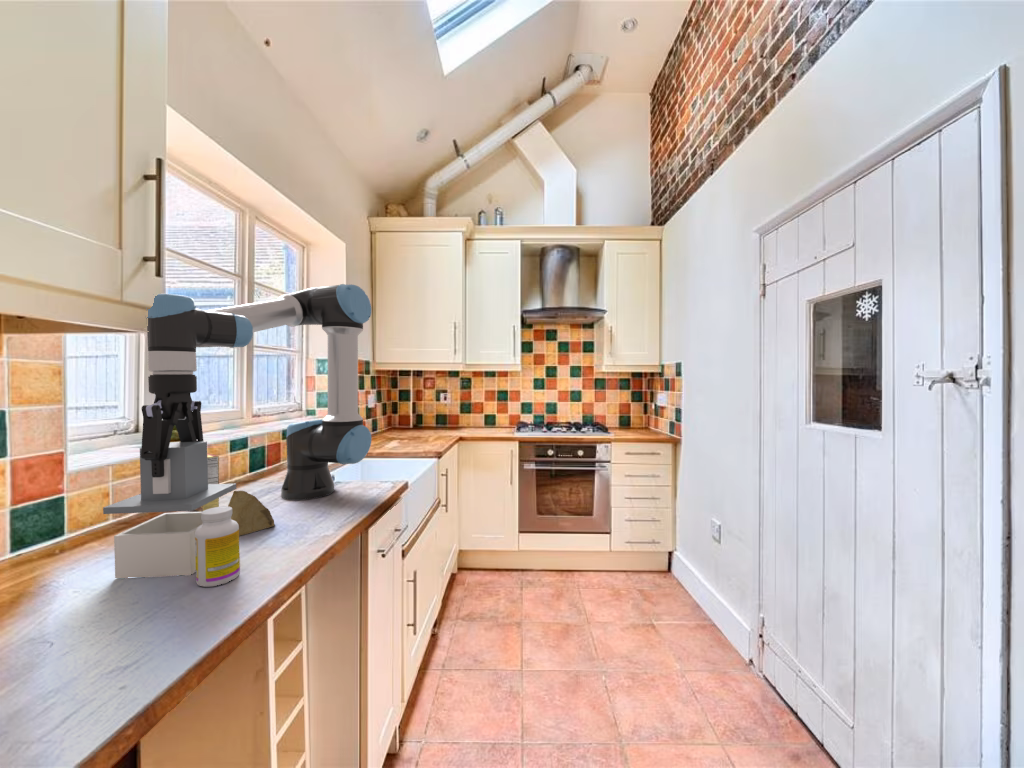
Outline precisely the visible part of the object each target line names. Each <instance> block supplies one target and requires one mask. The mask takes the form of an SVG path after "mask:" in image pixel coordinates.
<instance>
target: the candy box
mask: <svg viewBox="0 0 1024 768" xmlns="http://www.w3.org/2000/svg"><path fill="white" fill-rule="evenodd" d="M219 461H220V456H219V455H217V454H211V453H208V452H207V463H208V484H220V481H219V480H220V463H219ZM215 507H220V497H219V498H217V499H215V500H213V501H211V502H209V503H207V504H205V505H203V506H201V507H199V508H197V509H195V510H194V511H196V512H202V511H204V510H207V509H210V508H215Z"/></svg>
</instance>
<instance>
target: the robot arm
mask: <svg viewBox="0 0 1024 768" xmlns="http://www.w3.org/2000/svg"><path fill="white" fill-rule="evenodd" d="M157 294H158V295H157V296H155V298H154V303H153V306H152V307H151V308H150V309H148V317H147V318H148V326H147V325H146V335H147V337H146V339H147V354H148V356H147V357H148V359H147V360H148V362H147V363H148V364H147V365H148V368H147V370H148V372H151V373H152V374H149V376H148V378H147V379H148V381H147V382H148V393H150V394H151V395H153V394H154V401H153V403H151V404H149V405H147V404H146V405H142V406H141V413H142V435H141V436H142V437H141V447H140V448H141V458H142V459H145V460H151V465H152V477H153V494H168V493H171V472H170V459H166V458H167V453H168V449H169V444H170V442H171V440H172V435H173V430H174V426H175V429H176V431H177V435H178V439H179V442H205V441H204V432H203V422H202V415H201V414H202V413H201V412H202V411H201V410H202V400H193V399H192V396H191V394H192V393H196V392H197V390H198V382H197V379H198V377H197V375H196V374H194V372H197V371H198V369H197V367H198V366H197V348H216V347H219V348H220V347H221V348H223V347H224V348H225V347H226V348H230V349H234V348H244V347H246V346H248V345H249V344H250V343H251V341H252V339H253V336H254V333H255V332H261V331H265V330H269V329H274V328H278V327H282V326H283V327H284V326H288V327H298V326H309V325H310V326H311V325H312V326H313V325H314V326H315V325H316V326H318V325H319V326H321V330H323V332H325V333H326V335H327V414H326V415H325V416H324V417H323V418H322V419H316V420H315V419H314V420H308V421H300V422H291V423H289V424H288V426H287V428H286V437H285V438H286V439H285V440H286V441H285V442H286V465H287V466H286V467H287V469H286V471H287V472H286V475H285V478H284V480H283V483H282V485H281V490H280V497H281V498H282V499H284V500H289V501H301V500H302V501H304V500H305V501H306V500H312V499H317V498H322V497H325V496H329V495H331V494H333V493H334V492H335V483H334V480H333V477H332V474H331V471H330V469H329V463H331V464H332V463H333V464H340V465H353V464H359V463H360V462H361V461H363V459H365V458H366V456H367V454H368V453H369V451H370V448H371V447H372V446H371V445H372V433H371V431H370V429H369V428H368V427H367V426H365V425H364V418H363V416H361V414H359V374H358V373H359V372H358V371H359V365H358V364H359V350H358V349H359V335H360V334H361V333H362V332H363V330H364V324H366V323H367V322H368V321H369V320H370V318H371V316H372V305H371V301H370V298H369V297H368V295H367V294H366V292H365V290H363V288H361V287H360V286H358V285H356V284H350V283H349V284H344V283H342V284H336V285H328V286H326V285H325V286H315V287H310V288H306V289H303V290H299V291H296V292H291V293H286V294H281V295H280V296H279V297H278V298H277V299H271V300H266V301H264V300H263V301H258V302H252V303H245V304H241V305H234V306H233V305H232V306H227V307H221V308H214V309H208V310H205V309H204V310H203V309H199V308H196V307H197V306H196V302H195V299H193V298H192V297H190V296H188V295H187V296H186V295H180V294H172V293H157ZM147 318H146V319H147ZM147 331H149V332H147ZM149 451H150V452H149ZM333 491H334V492H333ZM332 492H333V493H332Z"/></svg>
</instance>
